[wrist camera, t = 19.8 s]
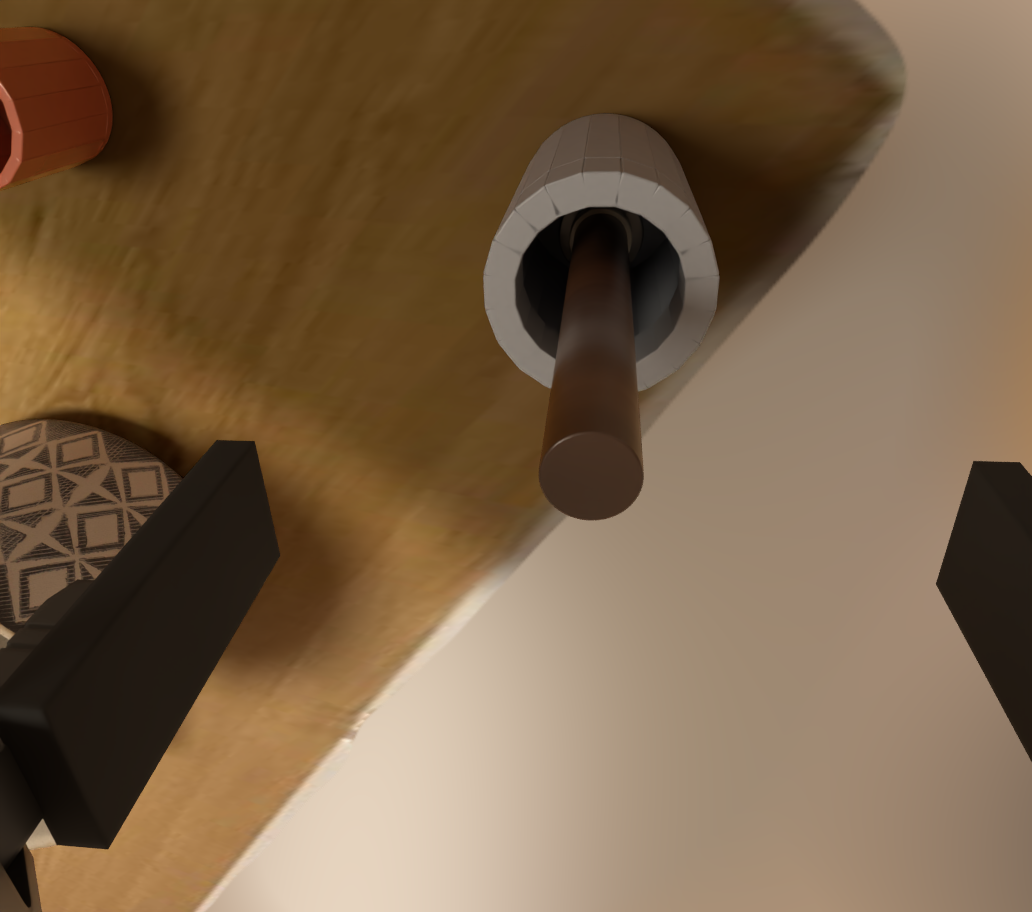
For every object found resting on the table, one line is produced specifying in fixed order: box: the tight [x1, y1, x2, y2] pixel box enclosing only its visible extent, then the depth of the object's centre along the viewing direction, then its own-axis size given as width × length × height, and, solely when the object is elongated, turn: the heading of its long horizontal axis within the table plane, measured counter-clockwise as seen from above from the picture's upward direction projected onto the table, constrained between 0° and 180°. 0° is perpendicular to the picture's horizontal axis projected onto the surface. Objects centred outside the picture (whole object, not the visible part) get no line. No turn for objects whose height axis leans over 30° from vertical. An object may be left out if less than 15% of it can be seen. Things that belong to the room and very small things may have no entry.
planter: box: [0, 419, 183, 850], centre depth 45 cm, size 19×19×16 cm
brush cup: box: [0, 27, 113, 191], centre depth 36 cm, size 6×6×7 cm
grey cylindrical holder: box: [483, 113, 720, 391], centre depth 33 cm, size 8×8×14 cm
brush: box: [539, 207, 644, 520], centre depth 27 cm, size 4×4×25 cm
